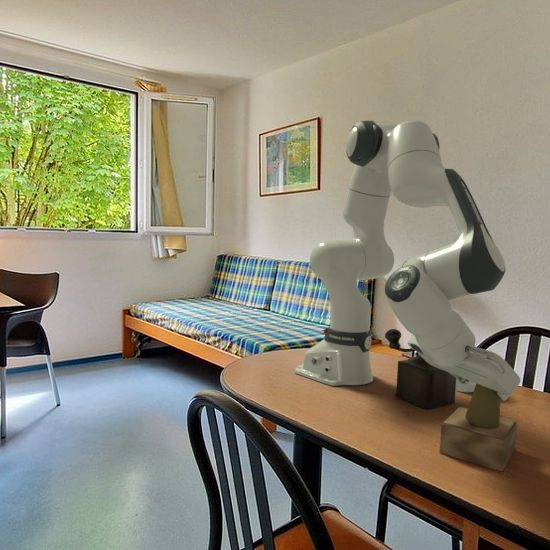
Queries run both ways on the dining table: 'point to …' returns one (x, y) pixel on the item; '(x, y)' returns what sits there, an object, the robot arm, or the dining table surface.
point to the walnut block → (478, 440)
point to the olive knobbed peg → (484, 408)
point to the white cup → (465, 386)
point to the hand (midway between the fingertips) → (484, 388)
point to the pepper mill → (421, 379)
